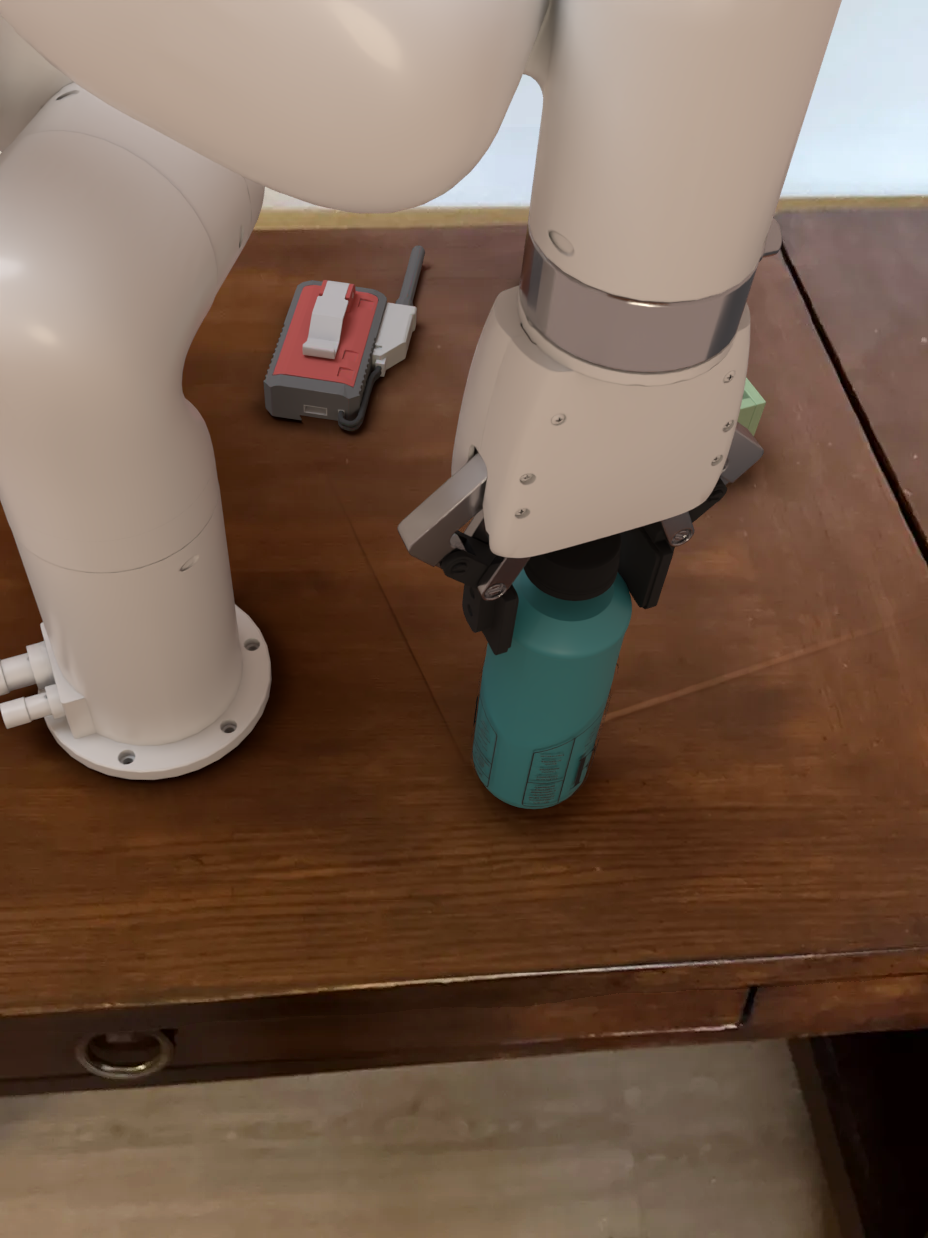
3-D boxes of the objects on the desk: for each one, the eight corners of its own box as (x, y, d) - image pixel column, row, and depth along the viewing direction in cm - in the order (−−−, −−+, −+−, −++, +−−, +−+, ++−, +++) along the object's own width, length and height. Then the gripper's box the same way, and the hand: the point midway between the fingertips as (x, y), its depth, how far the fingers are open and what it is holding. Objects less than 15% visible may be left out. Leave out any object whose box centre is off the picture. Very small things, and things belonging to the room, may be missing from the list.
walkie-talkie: (386, 448, 80) (432, 265, 92) (388, 398, 77) (435, 214, 89) (256, 429, 81) (319, 248, 93) (252, 378, 77) (317, 197, 89)
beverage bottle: (576, 839, 64) (650, 607, 48) (453, 812, 64) (486, 574, 49) (592, 736, 68) (666, 491, 52) (476, 712, 68) (514, 461, 53)
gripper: (794, 170, 45) (688, 501, 59) (348, 258, 40) (350, 596, 54) (913, 294, 41) (769, 617, 55) (434, 410, 36) (412, 731, 50)
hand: (562, 604), depth 54 cm, fingers closed on beverage bottle, 6 cm apart
